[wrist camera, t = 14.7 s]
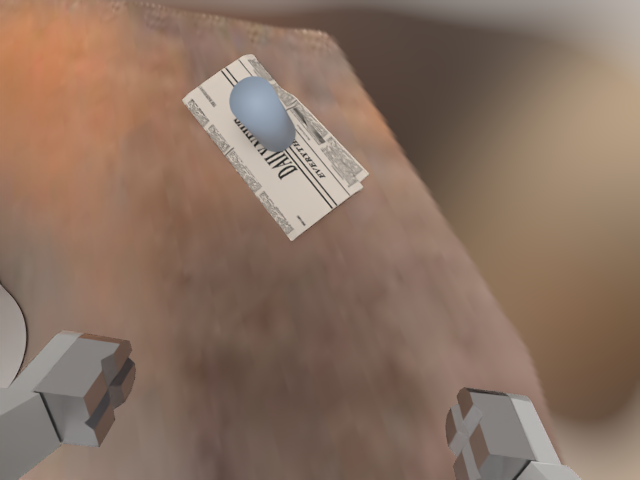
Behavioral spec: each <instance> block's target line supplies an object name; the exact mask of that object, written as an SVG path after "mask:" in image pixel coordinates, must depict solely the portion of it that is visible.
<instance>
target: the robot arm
mask: <svg viewBox="0 0 640 480" xmlns="http://www.w3.org/2000/svg"><path fill="white" fill-rule="evenodd" d="M25 346H26V327H25V322H24V318H23V315H22V312H21V310H20V308H19V306H18V305H17V303H16V301H15V300H14V299H13V298H12V296H11V295H10V294H9V293H8V292H7V291H6V290H5V289H4V288H3V287H2V286H1V284H0V480H18V479H19V478H21V477H22V476H23V475H24V474H26V473H27V472H28V471H29V470H31V469H32V468H33V467H34V466H36V465H37V464H38V463H40V462H41V461H42V460H43V459H45V458H46V457H47V456H48V455H50V454H51V453H52V452H53V451H55V450H56V449H57V448H59V447H60V446H61V444H60V443H64V444H74V445H83V446H92V447H100V445H101V443H102V442H103V440H104V438H105V436H106V435H107V433H108V431H109V429H110V428H111V426H112V424H113V422H114V421H115V416H114V409H116V408H117V407H119V406H120V405H121V404H123V403H124V402H125V401H126V399H127V397H128V396H129V394H130V392H131V389H132V386H133V383H134V380H135V372H136V369H135V363H134V362H133V361H132V360H131V359H130V358H129V357H128V356H129V355H130V353H131V351H132V348H131V344H130V341H127V340H122V339H116V338H110V337H104V336H98V335H92V334H86V333H79V332H73V331H66V330H63V331H61V332H60V333H58V334H56V335H55V336H54V337H53V338H52V339H51V341H50V342H49V343H48V344H47V345H46V346H45V347H44V348H43V349H42V351H41V352H40V353H39V354H38V355H37V356H36V357H35V358H34V359H33V360H32V362H31V363H30V364H29V365H28V366H27V367H26V368H25V369H24V370H23V372H22V373H21V374H20V375H19V376H18V377H17V378H16V379H15V380H14V378H15V376H16V374H17V372H18V370H19V368H20V365H21V363H22V360H23V356H24V352H25ZM13 380H14V382H13V383H12V381H13ZM11 383H12V384H11ZM10 384H11V385H10ZM457 400H458V404H456V405H454V406H452V407H451V408H450V410H449V412H448V414H447V418H446V438H447V442H448V447H449V448H450V449H451V451H452V452H453V453H454V454H455V455H456V457H457V459H456V461H455V463H454V465H453V468H454V472H455V477H456V480H582V479H581V478H580V477H579V476H578V475H577V474H576V473H575V472H574V471H573V470H571V468H569V467H568V466H564V465H561V463H560V461H559V459H558V456H557V454H556V452H555V450H554V448H553V446H552V444H551V442H550V440H549V438H548V436H547V434H546V431H545V429H544V427H543V425H542V423H541V421H540V419H539V417H538V415H537V413H536V411H535V408H534V406H533V404H532V402H531V400H530V399H529V398H528V397H527V396H523V395H516V394H509V393H503V392H497V391H489V390H482V389H474V388H466V387H464V388H462V389H461V390H460V391H459V393H458V395H457Z"/></svg>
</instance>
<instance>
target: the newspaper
mask: <svg viewBox="0 0 640 480" xmlns="http://www.w3.org/2000/svg"><path fill="white" fill-rule="evenodd" d="M251 76H257V77H261V78H264V79H265V80H267V81H268V82H269V83H270V84H271V85H272V87H273V89H274V90H275V92H276V94H277V96H278V97H279V99H280V101H281V103H282V104H283V106H284V108H285V110H286V111H287V113H288V115H289V117H290V118H291V120H292V122H293V124H294V126H295V130H296V135H295V139H294V141H293V143H292V144H291V146H290V147H288V148H287V149H286V150H284V151H280V152H272V151H269V150H267V149H266V148H264V147H263V146H262V145H261V143H260V142H259V141H258V140H257V139H256V138H255V137H254V136H253V135H252V134H251V133H250V132H249V131H248V130H247V128H246V127H245V126H244V125H243V124H242V123H241V122H240V121H239V120H238V119H237V118H236V117H235V116H234V114H233V113H232V111H231V109H230V104H229V98H230V94H231V91H232V89H233V88H234V86H235V85H236V84H237V83H238V82H239V81H241V80H242V79H244V78H246V77H251ZM182 101H183V103H184V104H185V105H186V106H187V108H188V109H189V110H190V112H191V113H192V114H193V115H194V117H195V118H196V119H197V121H198V122H199V123H200V124H201V126H202V127H203V128H204V130H205V131H206V132H207V133H208V135H209V136H210V137H211V139H212V140H213V141H214V142H215V144H216V145H217V146H218V148H219V149H220V150H221V151H222V153H223V154H224V155H225V157H226V158H227V159H228V160H229V162H230V163H231V164H232V166H233V167H234V168H235V169H236V171H237V172H238V173H239V175H240V176H241V177H242V178H243V180H244V181H245V182H246V184H247V185H248V186H249V187H250V189H251V190H252V191H253V193H254V194H255V195H256V196H257V198H258V199H259V200H260V202H261V203H262V204H263V205H264V207H265V208H266V209H267V211H268V212H269V213H270V214H271V216H272V217H273V218H274V220H275V221H276V222H277V223H278V225H279V226H280V227H281V229H282V230H283V231H284V232H285V234H286V235H287V236H288V238H289V239H290V240H291V241H293V240H294V239H295V238H296V237H298V236H299V235H300V234H301V233H303V232H304V231H305V230H307V229H308V228H309V227H310V226H312V225H313V224H314V223H316V222H317V221H318V220H319V219H321V218H322V217H323V216H325V215H326V214H327V213H329V212H330V211H331V210H333V209H334V208H335V207H337V206H338V205H339V204H341V203H342V202H343V201H345V200H346V199H347V198H349V197H350V196H351V195H353V194H354V193H355V192H357V191H361V190H362V189H363V186H362V185H361V184H360V182H361V181H362V180H363V179H364V178H365V177H366V176H368V175H369V173H368V172H367V171H366V170H365V169H364V168H363V167H362V166H361V165H360V164H359V163H358V162H357V161H356V159H355V158H354V157H353V156H352V155H351V154H350V153H349V152H348V151H347V150H346V149H345V148H344V147H343V146H342V145H341V144H340V143H339V142H338V140H337V139H336V138H335V137H334V136H333V135H332V134H331V133H330V132H329V131H328V130H327V129H326V128H325V127H324V126H323V125H322V124H321V123H320V122H319V120H318V119H317V118H316V117H315V116H314V115H313V114H312V113H311V112H310V111H309V110H308V109H307V108H306V107H305V106H304V105H303V104H302V103H301V102H300V101H299V100H298V99H297V98H296V97H295V96H293V95H292V94H290V93H288V92H287V91H285V90H283V89H282V88H280V86H279V85H278V84H277V83H276V82H275V80H274V79H273V78H272V77H271V76H270V74H269V73H268V72H267V71H266V70H265V68H264V67H263V66H262V65H261V64H260V62H259V61H258V60H257V59H256V58H255V56H254V55H253V54H250V55H244V56H242V57H241V58H239V59H238V60H236V61H234V62H233V63H231V64H230V65H228V66H227V67H225V68H224V69H222V70H221V71H219V72H218V73H216V74H215V75H213V76H212V77H211V78H209V79H208V80H207V81H205V82H204V83H202V84H201V85H200V86H198V87H197V88H196V89H194V90H193V91H191V92H190V93H189V94H187V96H186V97H185V98H184V99H183V100H182Z"/></svg>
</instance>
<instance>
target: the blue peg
mask: <svg viewBox="0 0 640 480" xmlns="http://www.w3.org/2000/svg"><path fill="white" fill-rule="evenodd" d="M229 104H230V109H231V111H232V113H233V114H234V116H235V117H236V118H237V119H238V120H239V121H240V122H241V123H242V124H243V125H244V126H245V127H246V128H247V130H248V131H249V132H250V133H251V134H252V135H253V136H254V137H255V138H256V139H257V140H258V141H259V142H260V143H261V145H262V146H263V147H264V148H266V149H267V150H269V151H272V152H280V151H284V150H286V149H287V148H288V147H290V146H291V144H292V143H293V141H294V139H295V135H296V130H295V126H294V124H293V122H292V120H291V118H290V117H289V115H288V113H287V111H286V110H285V108H284V106H283V104H282V103H281V101H280V99H279V97H278V96H277V94H276V92H275V90H274V89H273V87H272V85H271V84H270V83H269V82H268V81H267V80H265V79H264V78H261V77H257V76H251V77H246V78H244V79H242V80H241V81H239V82H238V83H237V84H236V85H235V86H234V88H233V89H232V91H231V94H230V98H229Z"/></svg>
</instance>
